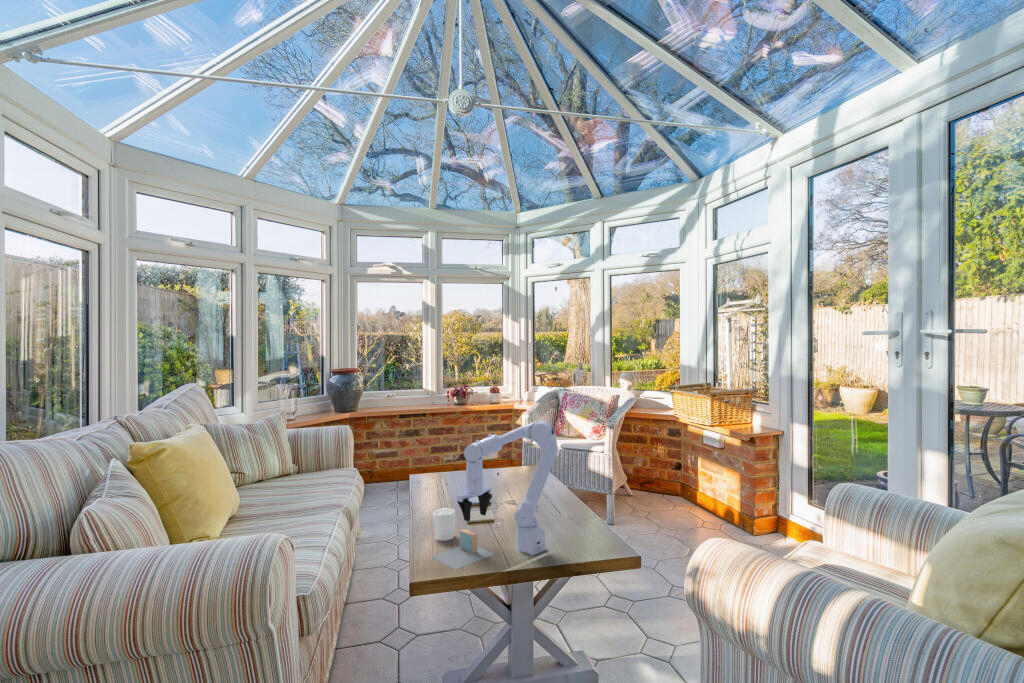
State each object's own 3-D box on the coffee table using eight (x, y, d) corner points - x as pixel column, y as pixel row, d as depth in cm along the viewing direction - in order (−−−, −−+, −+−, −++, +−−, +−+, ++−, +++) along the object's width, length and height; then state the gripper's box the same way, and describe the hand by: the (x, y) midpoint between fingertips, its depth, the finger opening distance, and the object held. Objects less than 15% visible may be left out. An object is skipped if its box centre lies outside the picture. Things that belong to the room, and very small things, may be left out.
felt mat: (494, 556, 162) (494, 554, 162) (454, 572, 151) (454, 569, 151) (469, 545, 172) (469, 542, 172) (430, 558, 161) (430, 556, 161)
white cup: (440, 545, 173) (439, 516, 173) (430, 538, 179) (429, 511, 179) (459, 539, 177) (458, 511, 178) (449, 533, 184) (448, 506, 184)
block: (477, 552, 164) (476, 534, 164) (472, 554, 162) (471, 535, 162) (465, 546, 169) (464, 528, 169) (460, 548, 168) (459, 530, 168)
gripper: (481, 472, 178) (482, 509, 178) (451, 480, 168) (451, 520, 167) (495, 475, 174) (496, 514, 173) (464, 484, 163) (465, 525, 163)
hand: (475, 517), depth 170 cm, fingers open, 7 cm apart
